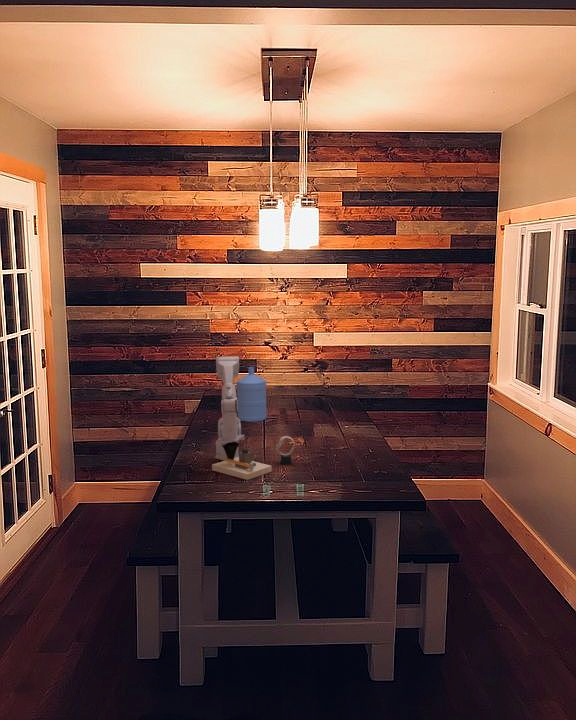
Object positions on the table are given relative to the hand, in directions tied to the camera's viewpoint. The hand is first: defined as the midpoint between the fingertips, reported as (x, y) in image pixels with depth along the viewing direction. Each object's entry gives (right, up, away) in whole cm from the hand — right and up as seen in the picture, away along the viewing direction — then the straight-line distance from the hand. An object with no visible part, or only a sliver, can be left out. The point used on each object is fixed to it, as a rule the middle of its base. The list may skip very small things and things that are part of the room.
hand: (230, 460), depth 281 cm
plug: (+6, -4, -3) cm, 8 cm away
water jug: (+4, +9, +89) cm, 90 cm away
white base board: (+5, -4, -2) cm, 6 cm away
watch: (+22, -2, +9) cm, 24 cm away
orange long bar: (+3, -1, -5) cm, 6 cm away
